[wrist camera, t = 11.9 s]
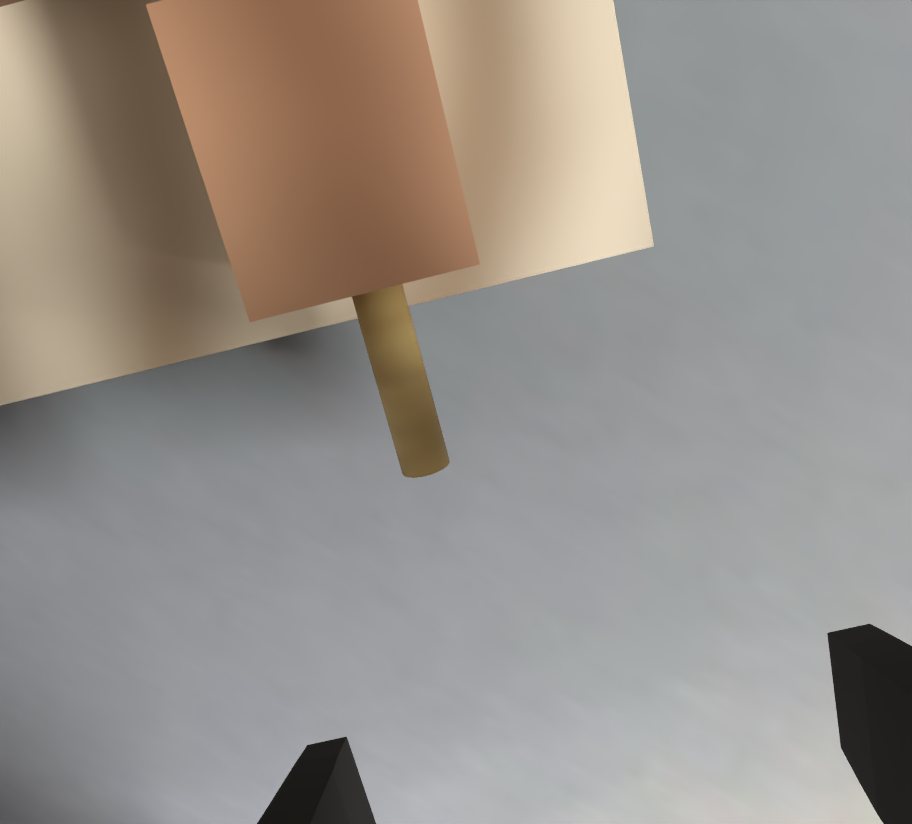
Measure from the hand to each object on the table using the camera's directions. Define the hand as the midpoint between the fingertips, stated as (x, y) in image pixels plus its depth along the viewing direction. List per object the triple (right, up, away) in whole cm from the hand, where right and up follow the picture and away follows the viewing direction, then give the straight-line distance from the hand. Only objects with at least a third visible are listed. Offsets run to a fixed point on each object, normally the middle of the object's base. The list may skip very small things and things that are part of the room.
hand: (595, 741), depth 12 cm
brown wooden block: (-4, +9, +6) cm, 11 cm away
